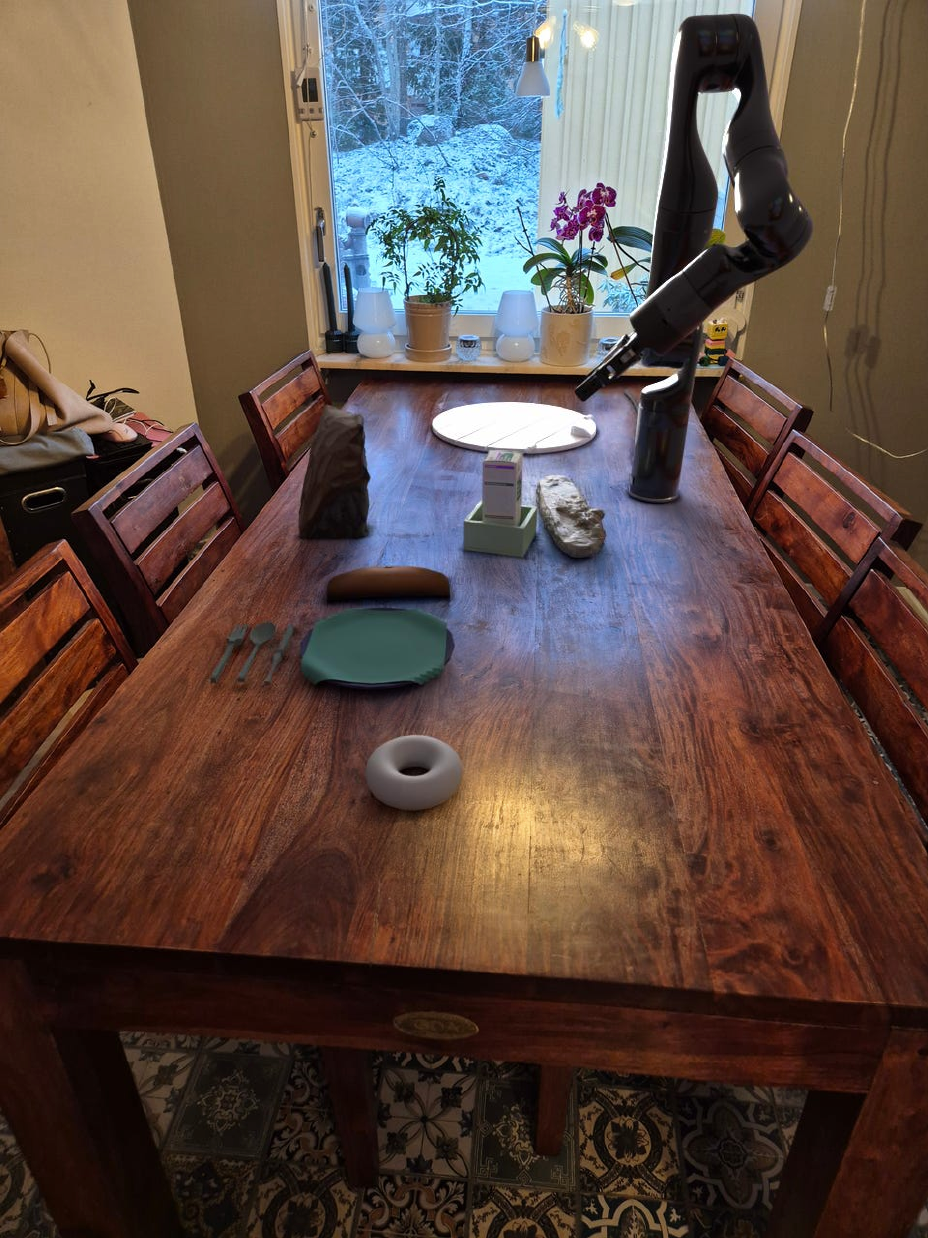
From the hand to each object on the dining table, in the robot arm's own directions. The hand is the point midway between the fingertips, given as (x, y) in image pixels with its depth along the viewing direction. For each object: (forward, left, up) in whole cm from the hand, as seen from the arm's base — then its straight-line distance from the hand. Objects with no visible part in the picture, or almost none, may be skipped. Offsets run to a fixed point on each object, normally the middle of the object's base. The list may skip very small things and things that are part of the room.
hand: (583, 389), depth 122 cm
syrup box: (+3, -12, -26) cm, 29 cm away
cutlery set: (+46, -13, -27) cm, 54 cm away
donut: (+62, +9, -27) cm, 68 cm away
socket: (+3, -12, -26) cm, 29 cm away
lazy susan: (-58, -40, -27) cm, 75 cm away
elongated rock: (-11, -6, -27) cm, 30 cm away
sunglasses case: (+27, -18, -27) cm, 42 cm away
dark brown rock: (+13, -40, -27) cm, 49 cm away
